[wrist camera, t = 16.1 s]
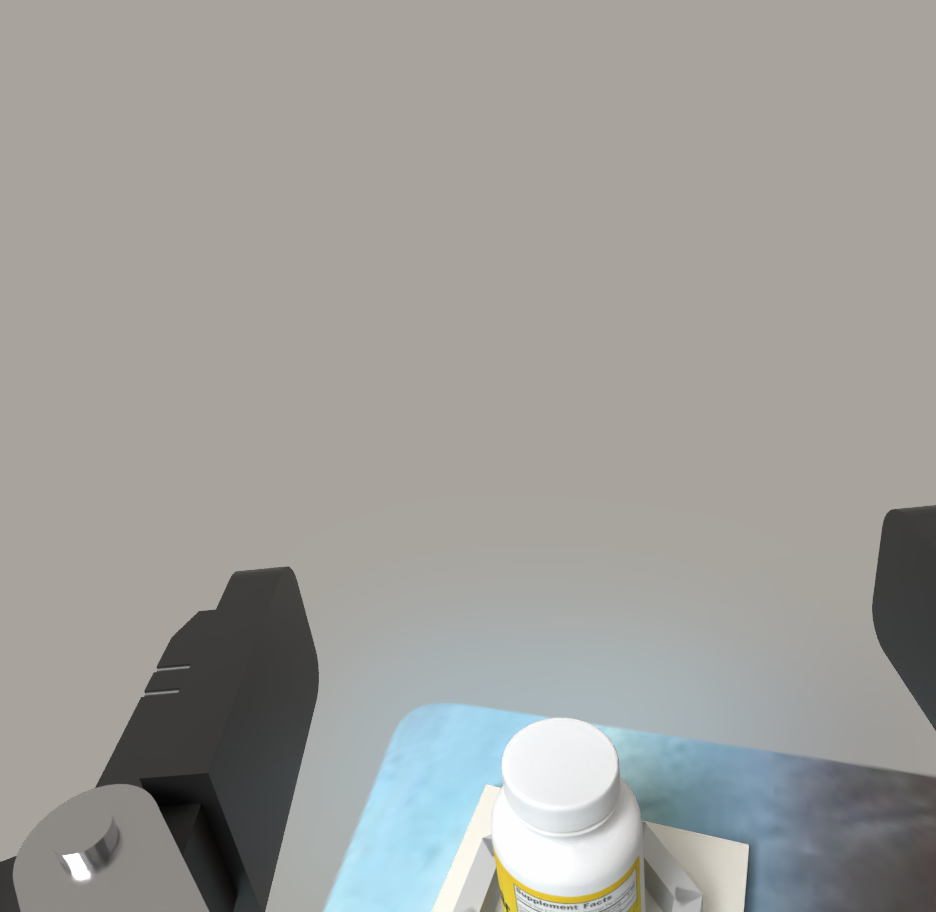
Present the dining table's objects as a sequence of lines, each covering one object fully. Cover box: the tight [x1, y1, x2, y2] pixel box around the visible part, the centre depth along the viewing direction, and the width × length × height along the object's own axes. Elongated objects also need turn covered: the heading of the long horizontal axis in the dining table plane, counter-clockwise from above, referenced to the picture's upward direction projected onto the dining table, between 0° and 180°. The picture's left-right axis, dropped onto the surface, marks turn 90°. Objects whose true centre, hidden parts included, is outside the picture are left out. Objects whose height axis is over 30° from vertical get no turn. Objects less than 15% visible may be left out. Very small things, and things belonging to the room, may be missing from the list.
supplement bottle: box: [491, 718, 646, 912], centre depth 30 cm, size 5×5×10 cm
